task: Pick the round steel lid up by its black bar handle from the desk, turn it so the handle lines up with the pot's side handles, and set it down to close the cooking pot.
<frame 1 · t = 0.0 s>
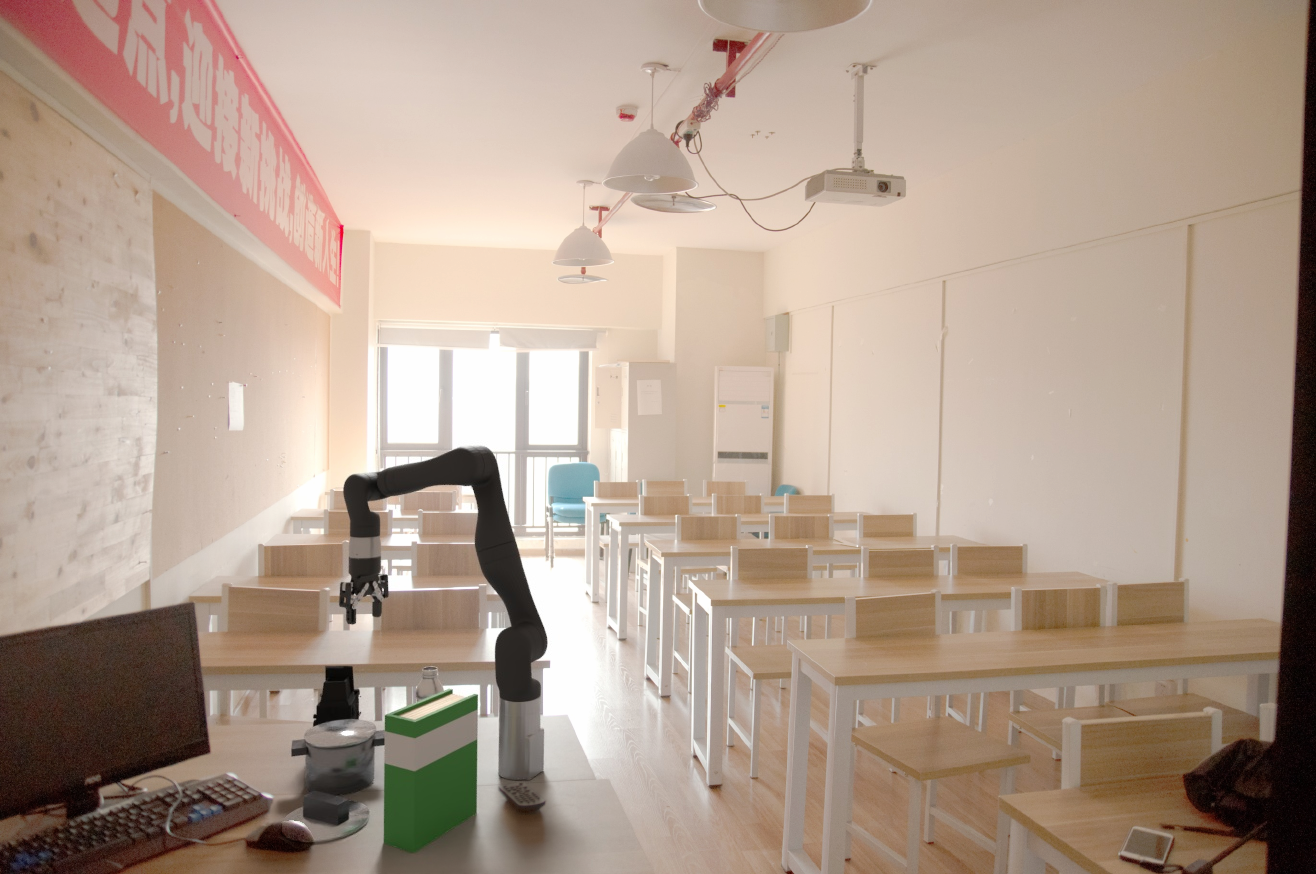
hand: (364, 620, 206), 29 cm above the table, tool pointing down, fingers open, 8 cm apart
camera: (339, 749, 200), on the table
lid: (325, 824, 164), on the table
hardback book: (431, 828, 162), on the table
pot: (340, 781, 182), on the table
plastic bottle: (429, 753, 198), on the table
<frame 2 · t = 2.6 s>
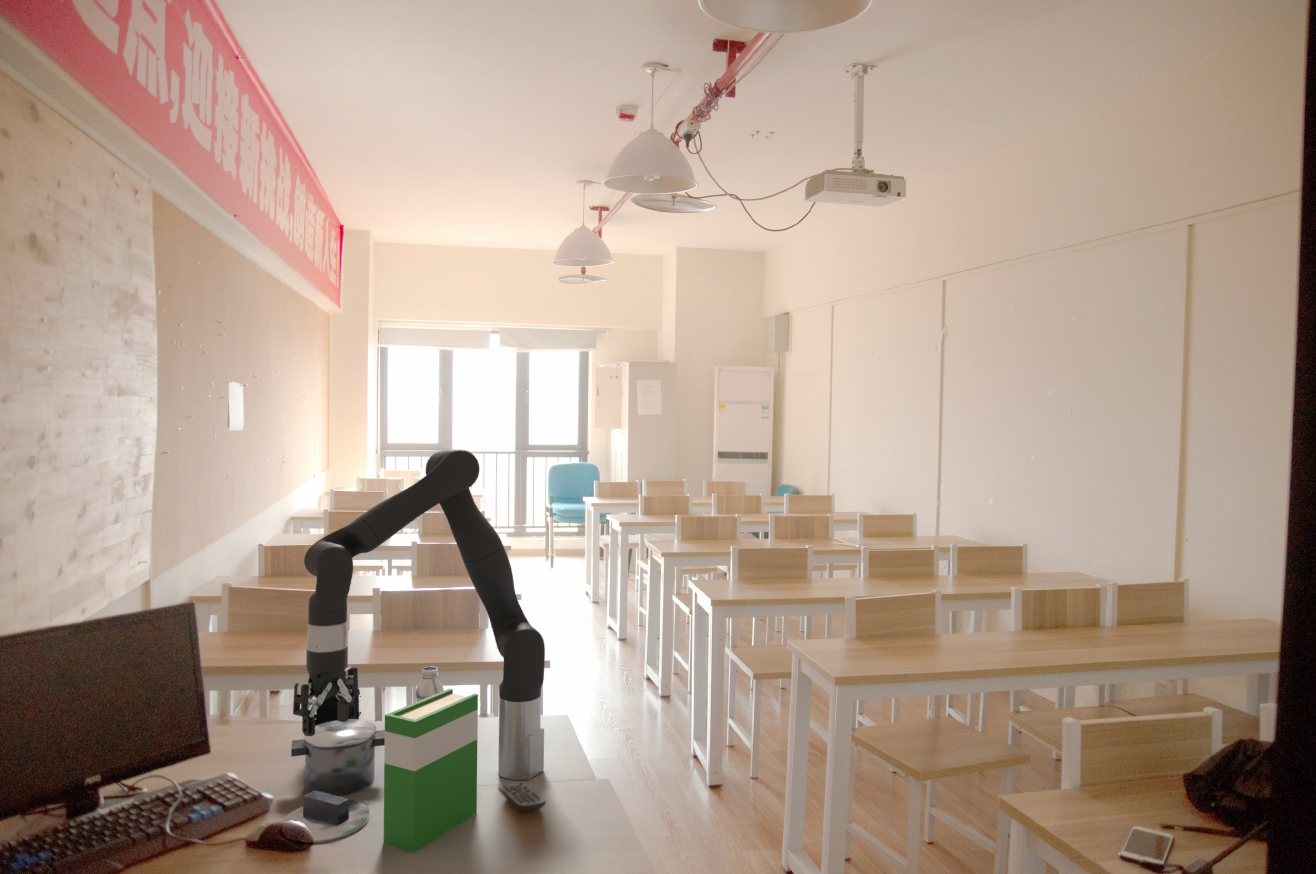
hand: (326, 728, 163), 18 cm above the table, tool pointing down, fingers open, 8 cm apart
nothing on the table moved.
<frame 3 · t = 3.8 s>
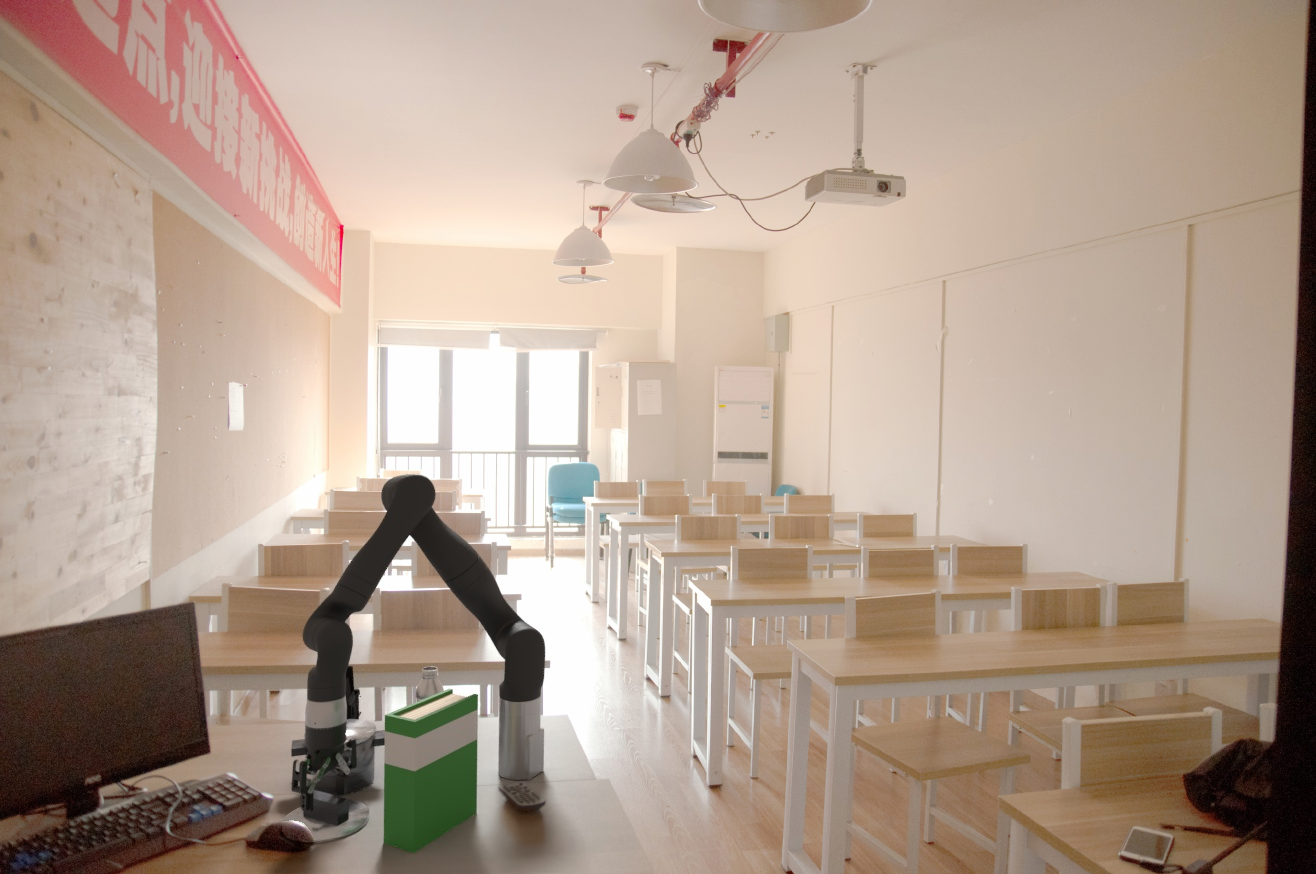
hand: (324, 802, 164), 4 cm above the table, tool pointing down, fingers open, 8 cm apart
nothing on the table moved.
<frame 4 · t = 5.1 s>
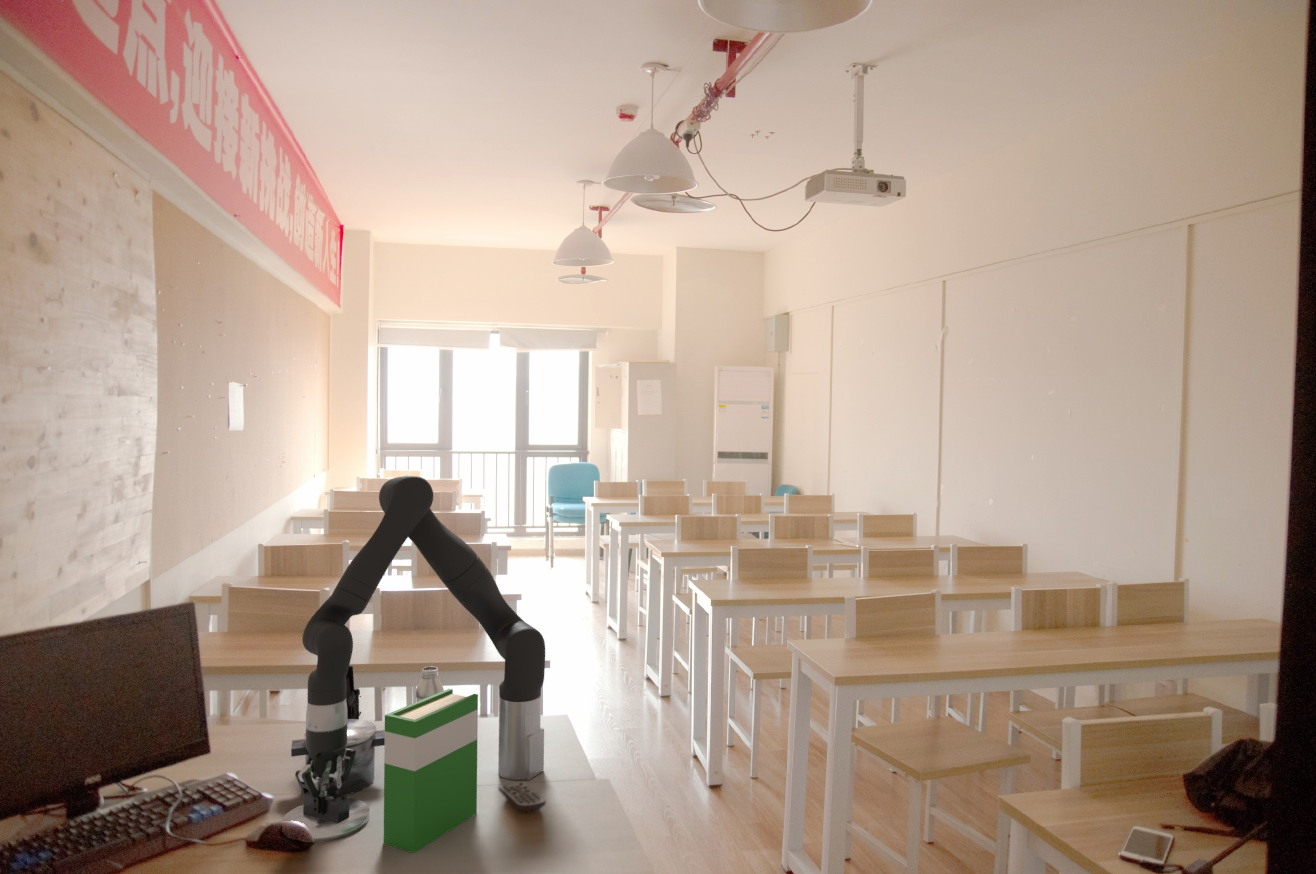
hand: (326, 810, 164), 2 cm above the table, tool pointing down, fingers closed on lid, 3 cm apart
lid: (326, 821, 164), on the table, touching gripper
everything else where it was.
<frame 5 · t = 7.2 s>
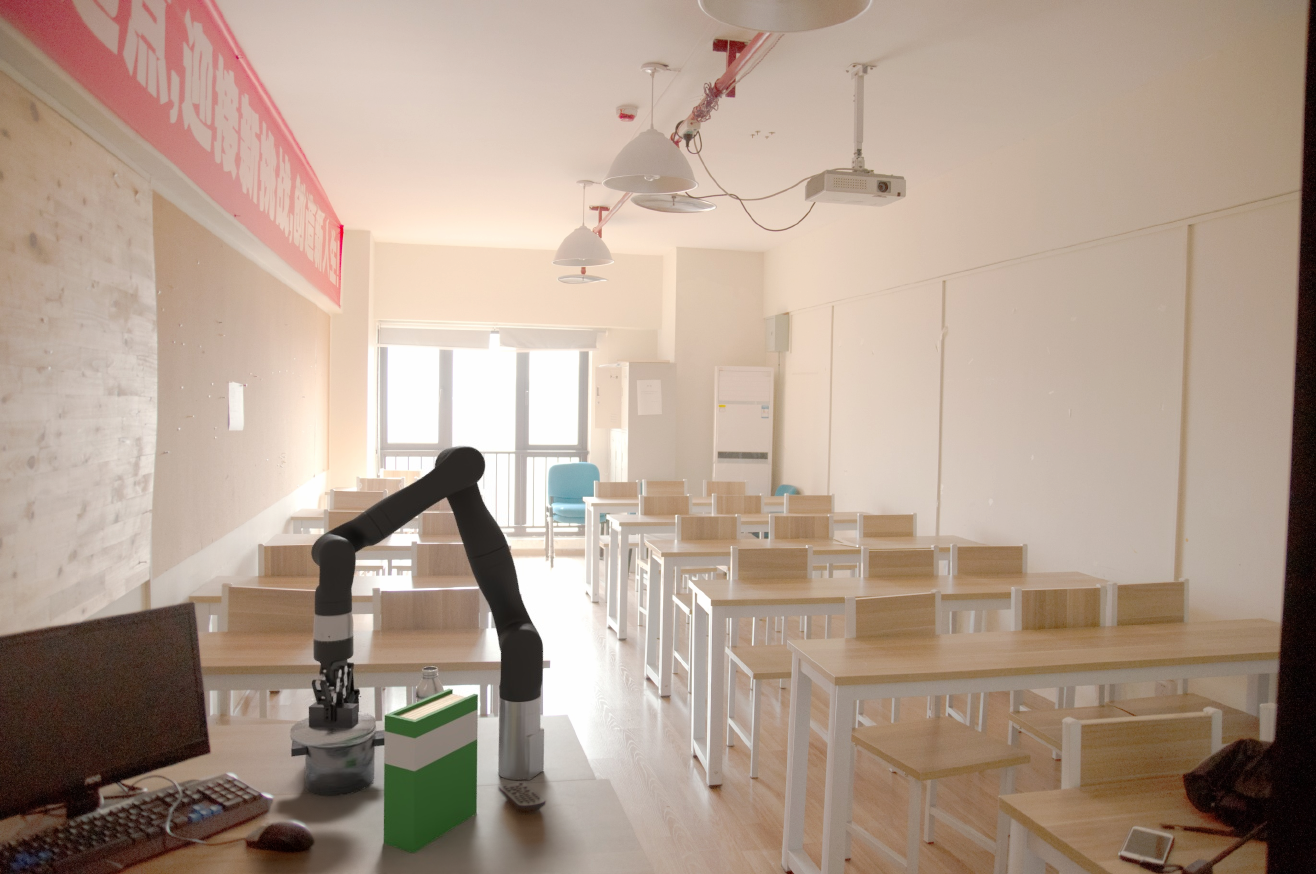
hand: (333, 719, 169), 18 cm above the table, tool pointing down, fingers closed on lid, 3 cm apart
lid: (333, 730, 169), point 16 cm above the table, touching gripper
everything else where it was.
when the fingers open (15 cm above the table, at t = 9.4 s): lid drops 1 cm, resting on pot.
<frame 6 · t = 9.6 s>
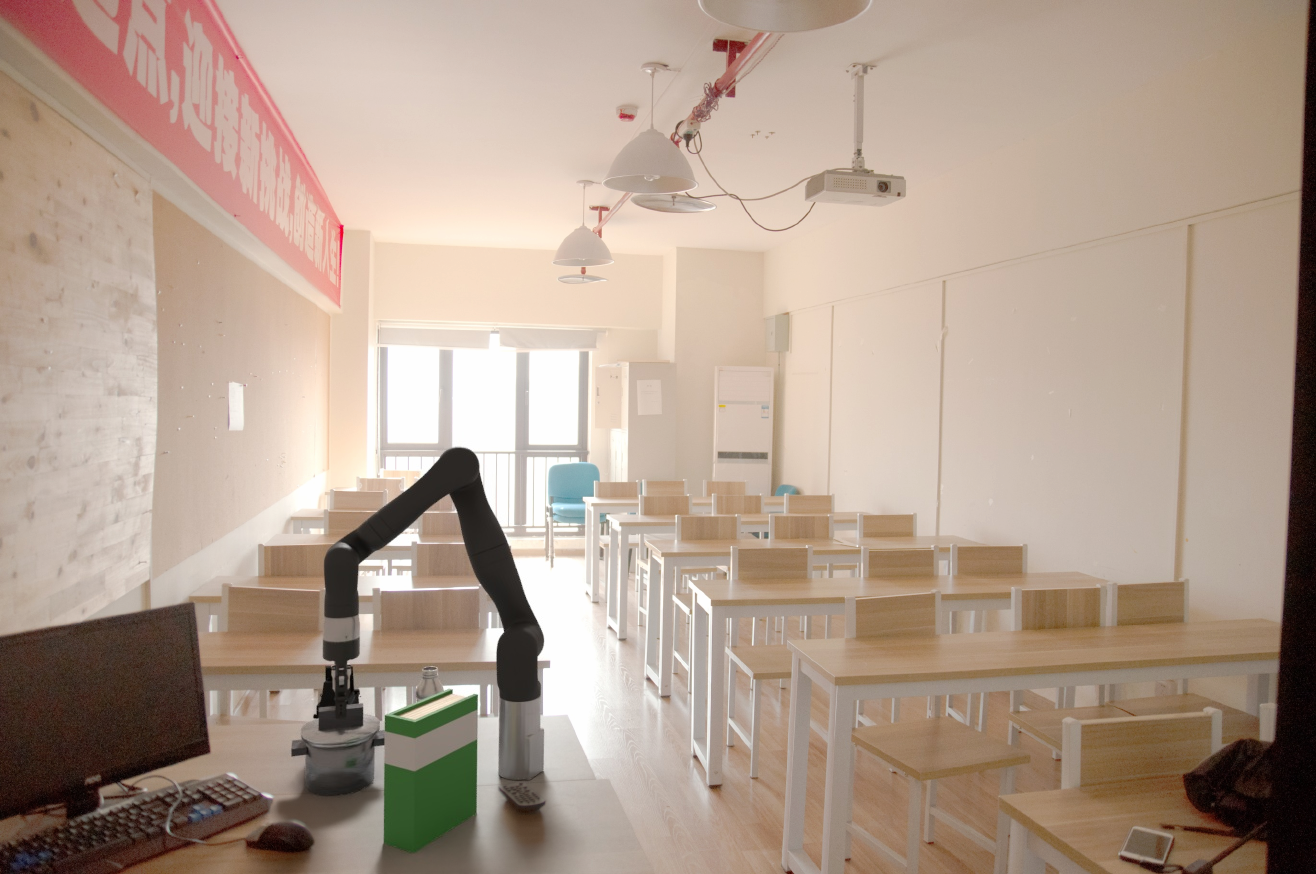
hand: (340, 713, 181), 15 cm above the table, tool pointing down, fingers open, 4 cm apart
lid: (340, 731, 182), point 11 cm above the table, touching pot
everything else where it was.
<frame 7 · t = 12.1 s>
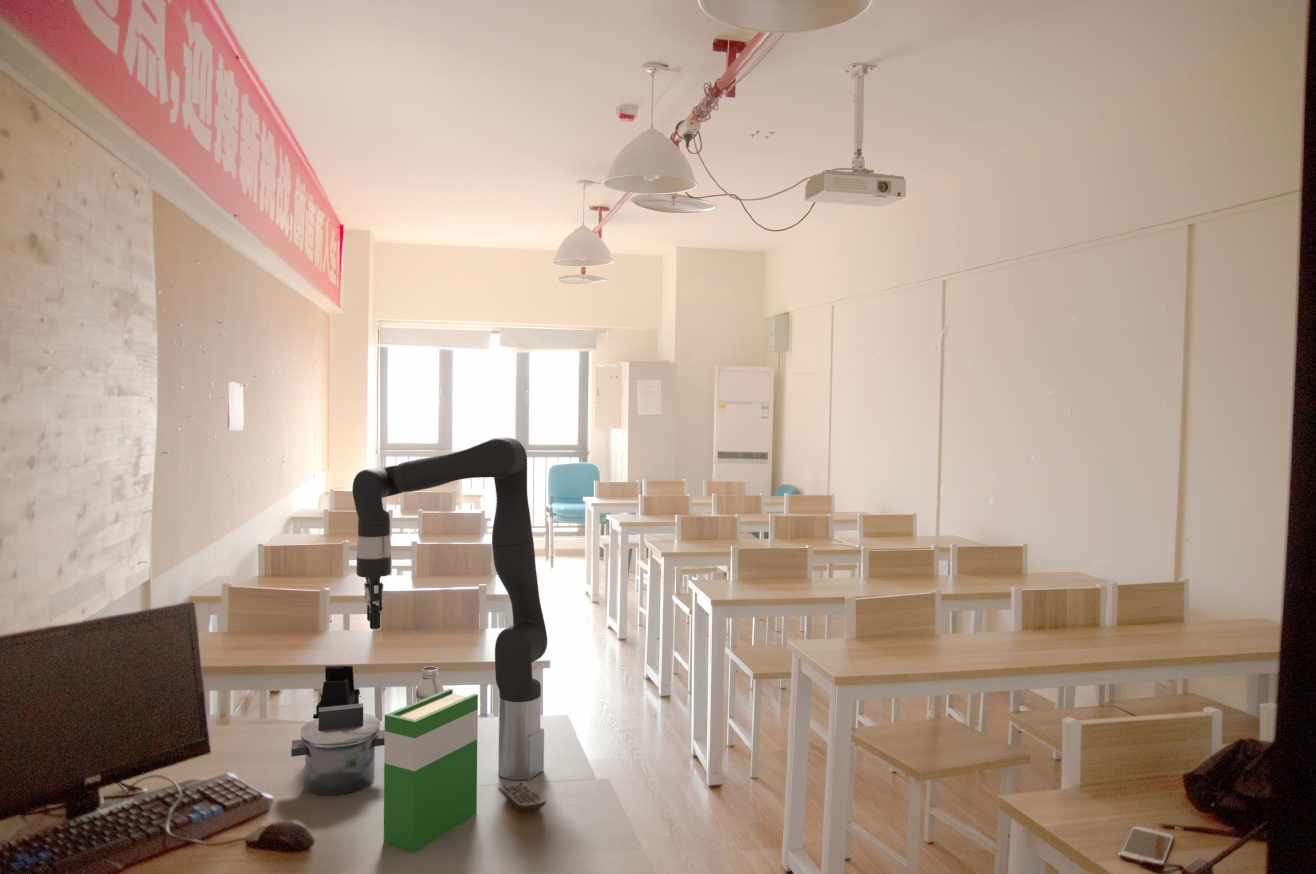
hand: (373, 624, 194), 31 cm above the table, tool pointing down, fingers open, 8 cm apart
nothing on the table moved.
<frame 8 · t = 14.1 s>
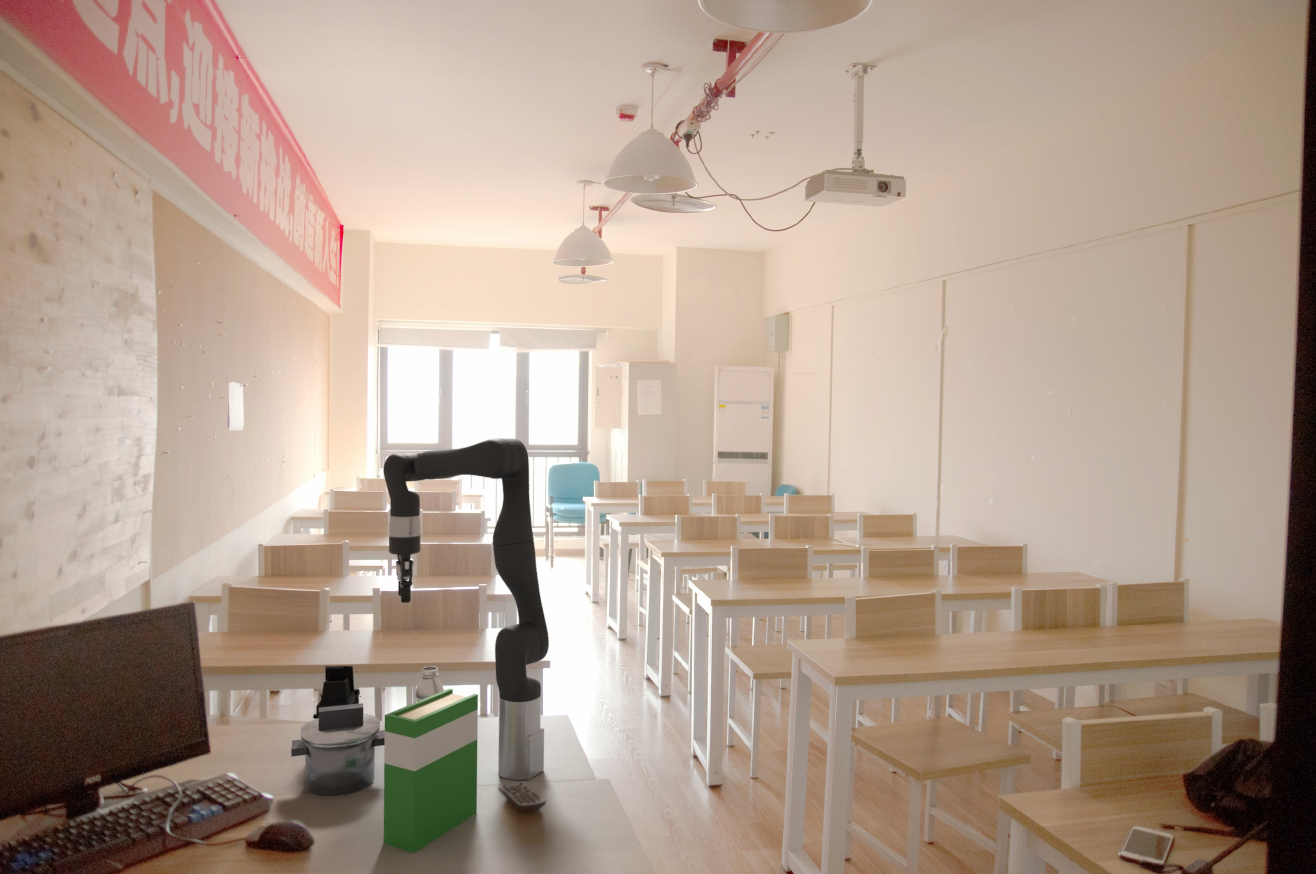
hand: (404, 598, 208), 34 cm above the table, tool pointing down, fingers open, 8 cm apart
nothing on the table moved.
at the end: lid 0.1 cm off-centre on the pot, point 11.0 cm above the pot's base; lid tilted 0°; the gripper is holding nothing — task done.
